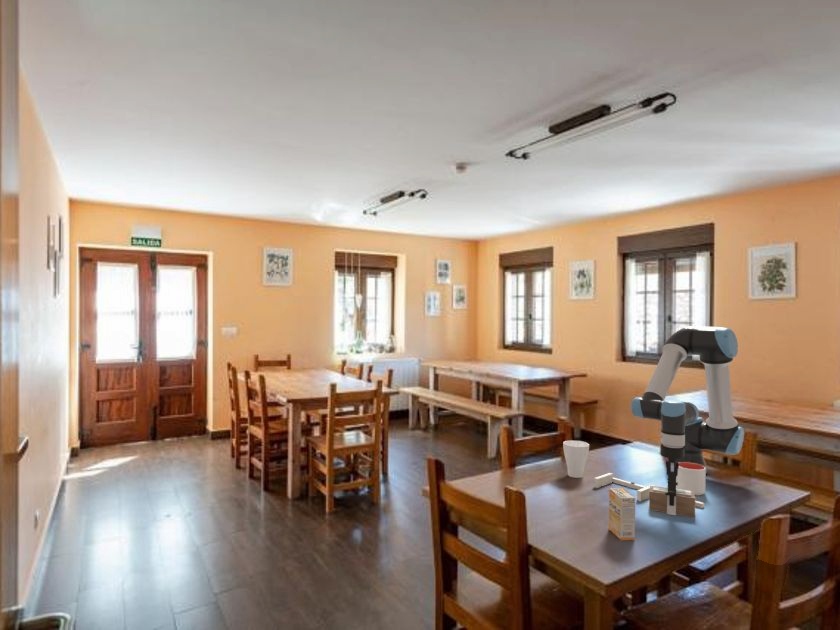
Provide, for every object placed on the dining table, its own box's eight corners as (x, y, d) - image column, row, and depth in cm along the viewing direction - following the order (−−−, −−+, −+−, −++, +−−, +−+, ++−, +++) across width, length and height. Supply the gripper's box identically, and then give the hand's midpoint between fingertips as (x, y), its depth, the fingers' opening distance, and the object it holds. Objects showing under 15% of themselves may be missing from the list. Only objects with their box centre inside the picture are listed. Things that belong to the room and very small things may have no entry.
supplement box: (607, 529, 162) (608, 487, 162) (622, 528, 162) (622, 487, 162) (619, 541, 154) (620, 497, 153) (635, 540, 154) (636, 497, 154)
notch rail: (610, 480, 209) (610, 471, 209) (703, 507, 181) (704, 497, 181) (593, 486, 201) (593, 477, 201) (688, 515, 173) (688, 505, 173)
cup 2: (709, 497, 191) (709, 470, 191) (680, 495, 193) (680, 468, 193) (700, 488, 201) (700, 463, 201) (672, 486, 203) (672, 461, 203)
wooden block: (649, 503, 185) (650, 483, 185) (693, 510, 179) (694, 489, 179) (649, 510, 179) (649, 489, 178) (694, 517, 172) (695, 496, 172)
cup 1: (591, 474, 216) (592, 442, 216) (585, 481, 207) (585, 448, 207) (566, 470, 222) (567, 439, 222) (559, 476, 213) (559, 444, 213)
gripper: (661, 437, 190) (660, 496, 191) (660, 451, 170) (658, 518, 170) (683, 439, 187) (682, 500, 187) (685, 454, 167) (684, 522, 167)
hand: (671, 508), depth 179 cm, fingers open, 10 cm apart
